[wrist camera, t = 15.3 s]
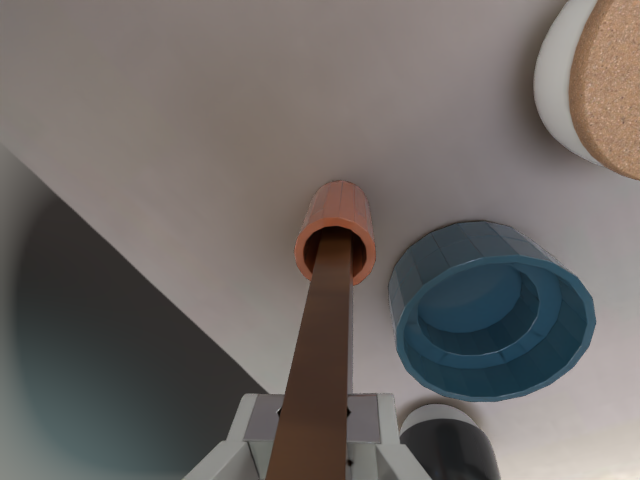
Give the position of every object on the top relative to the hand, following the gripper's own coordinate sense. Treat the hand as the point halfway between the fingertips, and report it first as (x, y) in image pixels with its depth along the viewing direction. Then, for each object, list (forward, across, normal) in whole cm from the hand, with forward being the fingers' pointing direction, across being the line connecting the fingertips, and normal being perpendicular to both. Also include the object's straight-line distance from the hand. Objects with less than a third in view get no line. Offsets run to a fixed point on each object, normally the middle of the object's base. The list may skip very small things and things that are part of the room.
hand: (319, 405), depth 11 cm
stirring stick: (+14, 0, 0) cm, 14 cm away
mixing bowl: (+20, -11, +9) cm, 24 cm away
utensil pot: (+20, 0, 0) cm, 20 cm away
